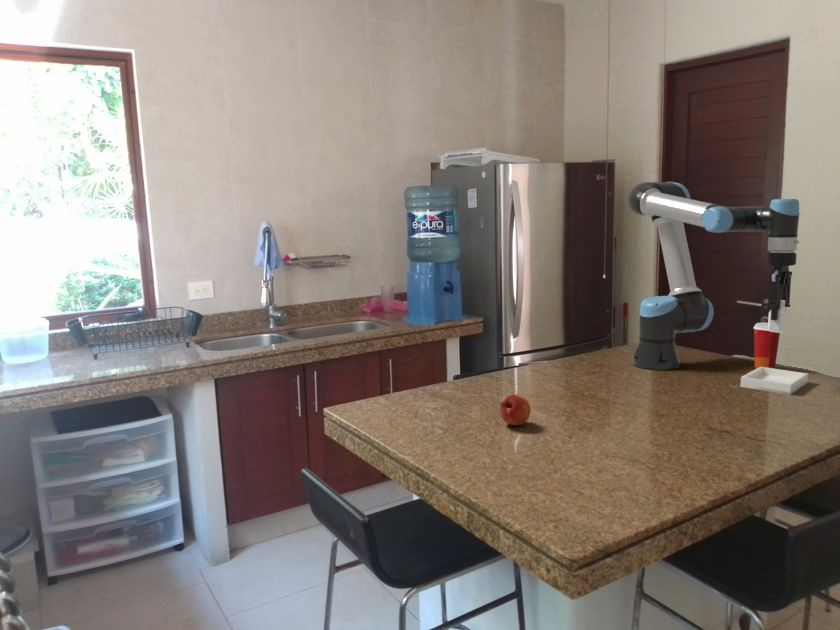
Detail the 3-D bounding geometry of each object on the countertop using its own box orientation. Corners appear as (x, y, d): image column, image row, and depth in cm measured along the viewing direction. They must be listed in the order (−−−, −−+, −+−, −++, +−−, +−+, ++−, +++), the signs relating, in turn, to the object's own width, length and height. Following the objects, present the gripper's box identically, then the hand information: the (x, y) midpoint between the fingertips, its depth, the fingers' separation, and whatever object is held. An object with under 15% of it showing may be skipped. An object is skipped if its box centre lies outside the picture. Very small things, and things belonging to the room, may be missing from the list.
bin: (740, 386, 201) (741, 377, 201) (760, 375, 213) (760, 366, 213) (789, 394, 192) (790, 384, 191) (807, 383, 204) (808, 373, 204)
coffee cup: (772, 365, 226) (775, 322, 224) (782, 371, 218) (786, 326, 216) (746, 365, 227) (749, 322, 225) (756, 371, 219) (759, 326, 217)
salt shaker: (778, 333, 197) (780, 301, 196) (766, 331, 201) (768, 300, 200) (787, 332, 199) (789, 300, 197) (776, 330, 202) (778, 299, 201)
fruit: (493, 422, 171) (493, 392, 170) (520, 418, 174) (520, 388, 173) (509, 431, 164) (509, 400, 162) (537, 427, 167) (537, 396, 166)
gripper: (786, 253, 188) (781, 335, 191) (805, 250, 200) (800, 326, 203) (758, 253, 193) (753, 332, 196) (778, 250, 205) (773, 324, 209)
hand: (777, 329), depth 200 cm, fingers closed on salt shaker, 5 cm apart
